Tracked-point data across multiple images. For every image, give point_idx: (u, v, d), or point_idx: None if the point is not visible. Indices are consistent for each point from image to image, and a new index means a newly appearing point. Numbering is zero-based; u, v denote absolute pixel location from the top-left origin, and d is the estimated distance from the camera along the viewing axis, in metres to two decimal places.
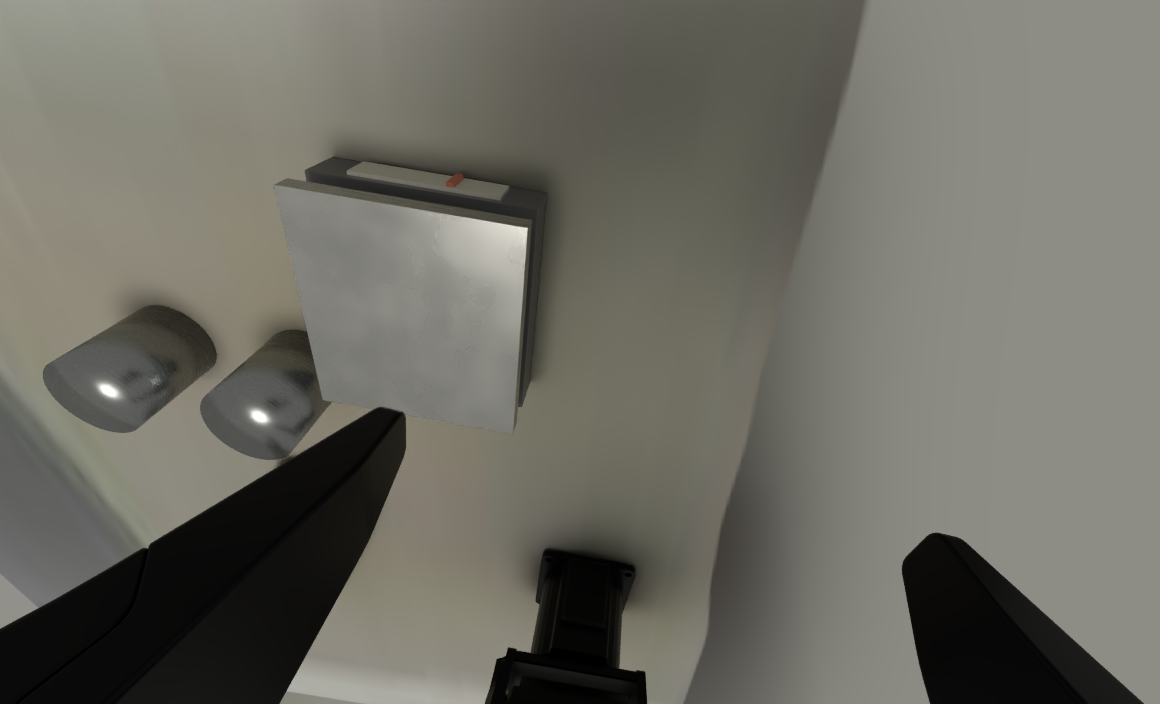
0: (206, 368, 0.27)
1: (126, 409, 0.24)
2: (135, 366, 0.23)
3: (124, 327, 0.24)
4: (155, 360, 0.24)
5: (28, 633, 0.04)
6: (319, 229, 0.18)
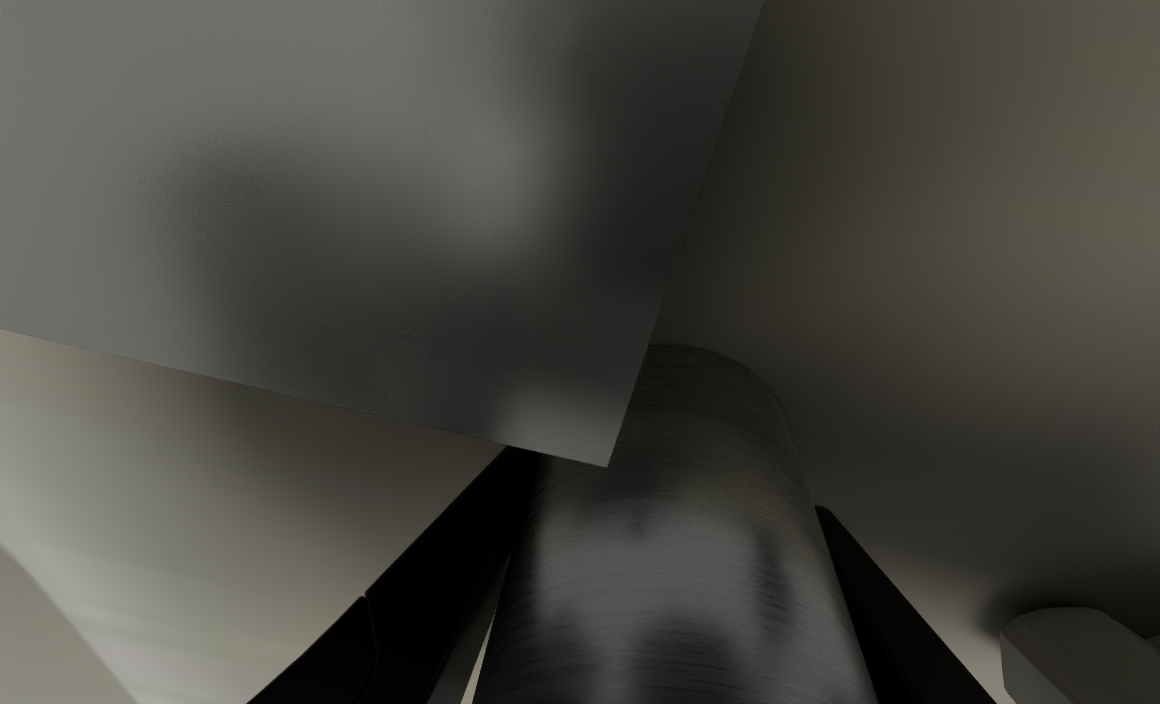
0: None
1: None
2: None
3: None
4: None
5: (294, 692, 0.04)
6: None
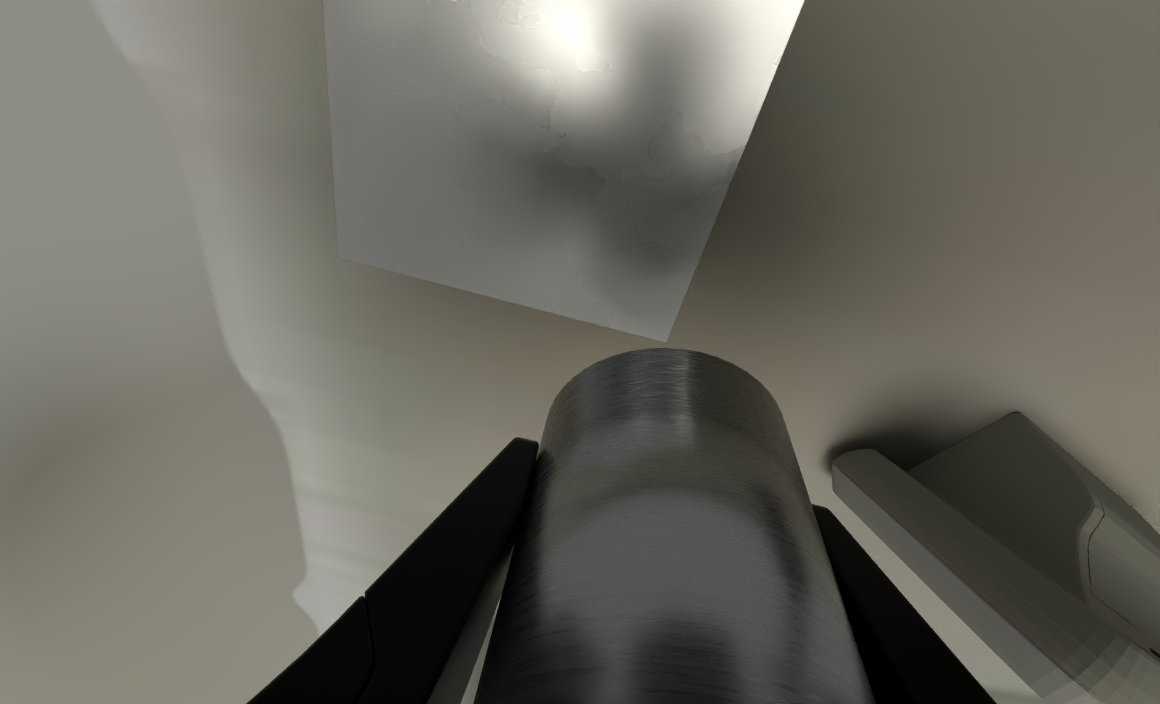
0: None
1: None
2: None
3: None
4: None
5: (294, 692, 0.04)
6: (384, 225, 0.14)
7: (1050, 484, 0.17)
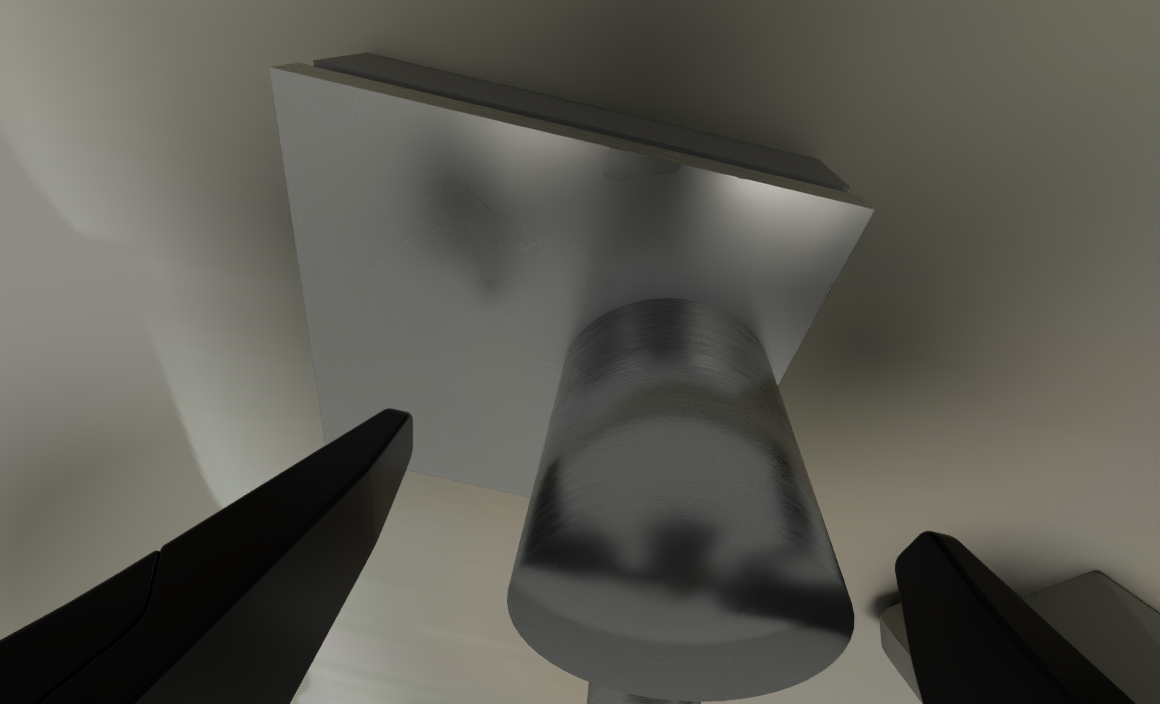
0: None
1: None
2: (616, 696, 0.18)
3: None
4: None
5: (42, 636, 0.04)
6: None
7: (1149, 680, 0.15)
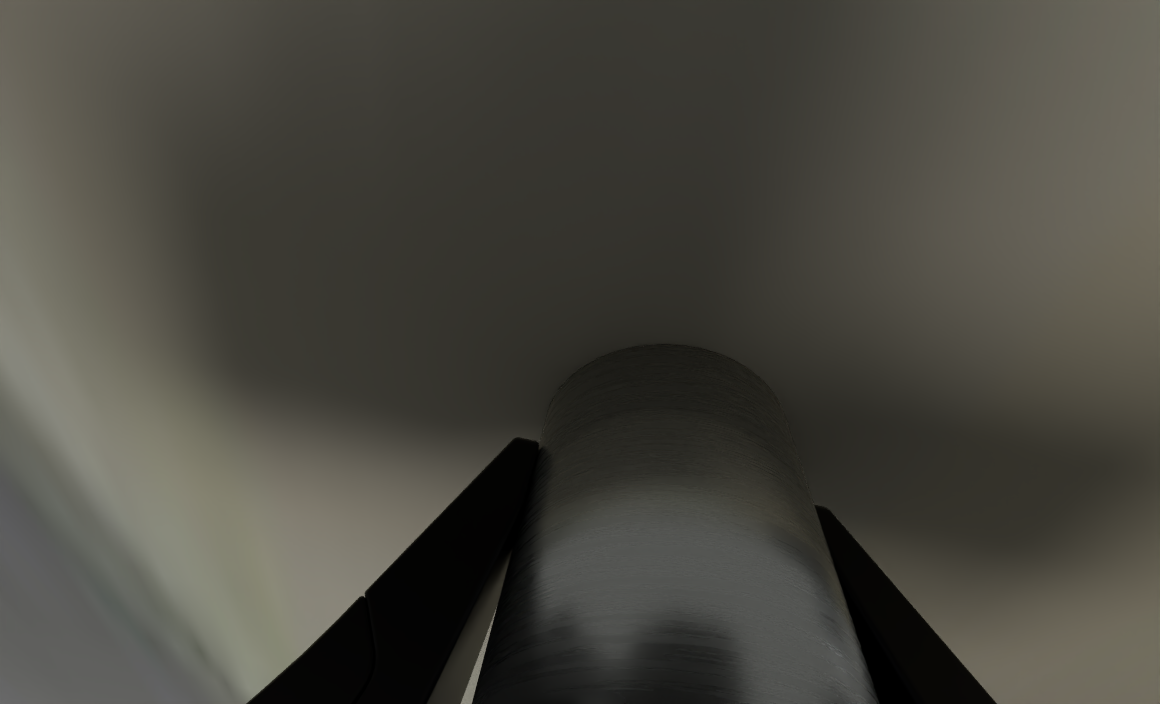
0: None
1: None
2: (859, 648, 0.05)
3: (709, 447, 0.06)
4: (840, 585, 0.06)
5: (294, 692, 0.04)
6: None
7: None
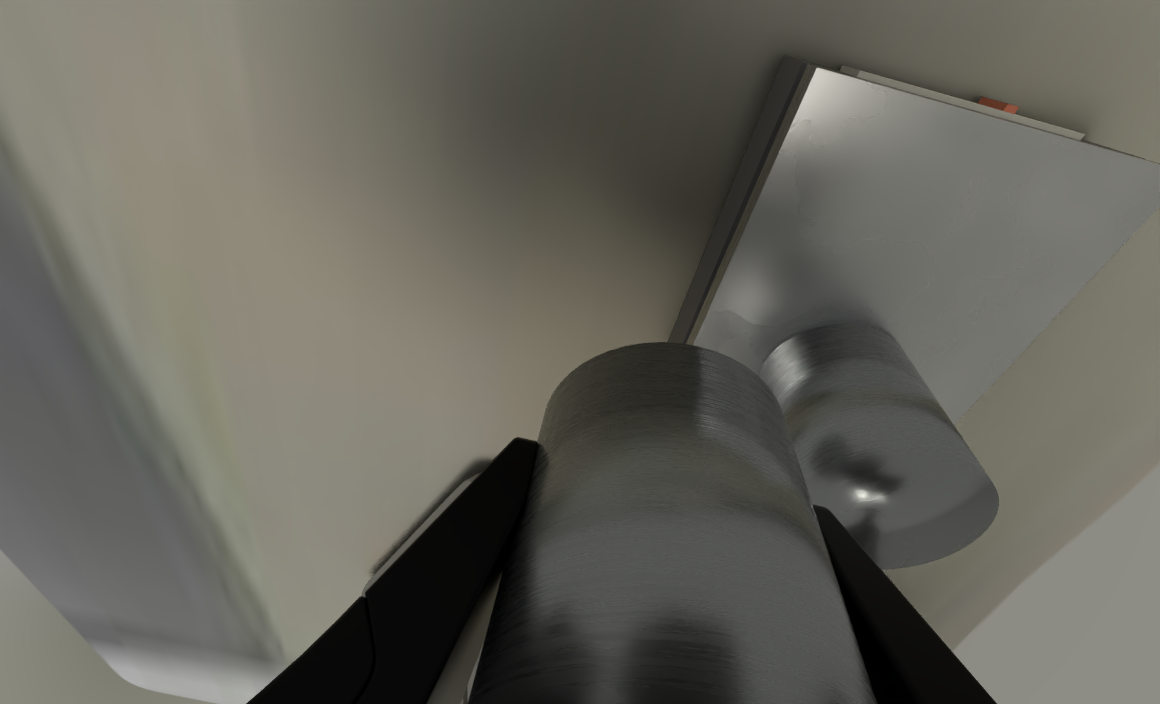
0: None
1: None
2: (856, 645, 0.05)
3: (706, 444, 0.06)
4: (837, 582, 0.06)
5: (294, 692, 0.04)
6: (843, 148, 0.12)
7: None
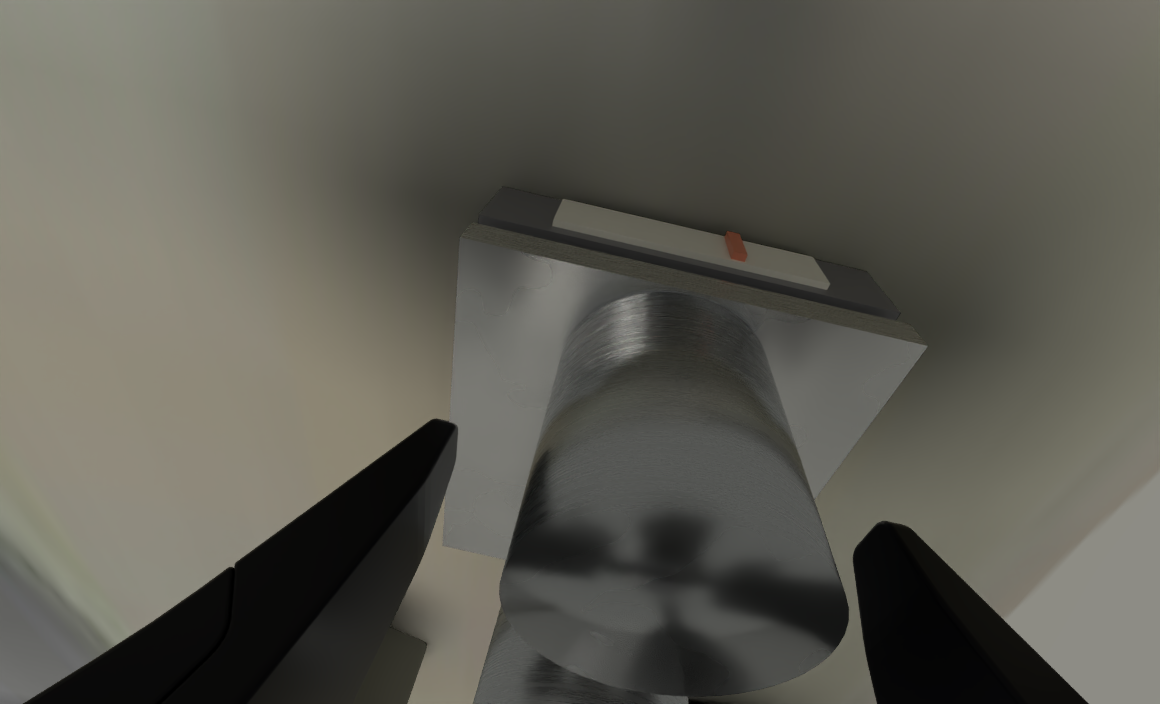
0: None
1: (762, 655, 0.07)
2: (816, 509, 0.07)
3: (697, 362, 0.08)
4: (805, 474, 0.07)
5: (133, 657, 0.04)
6: (523, 317, 0.10)
7: None
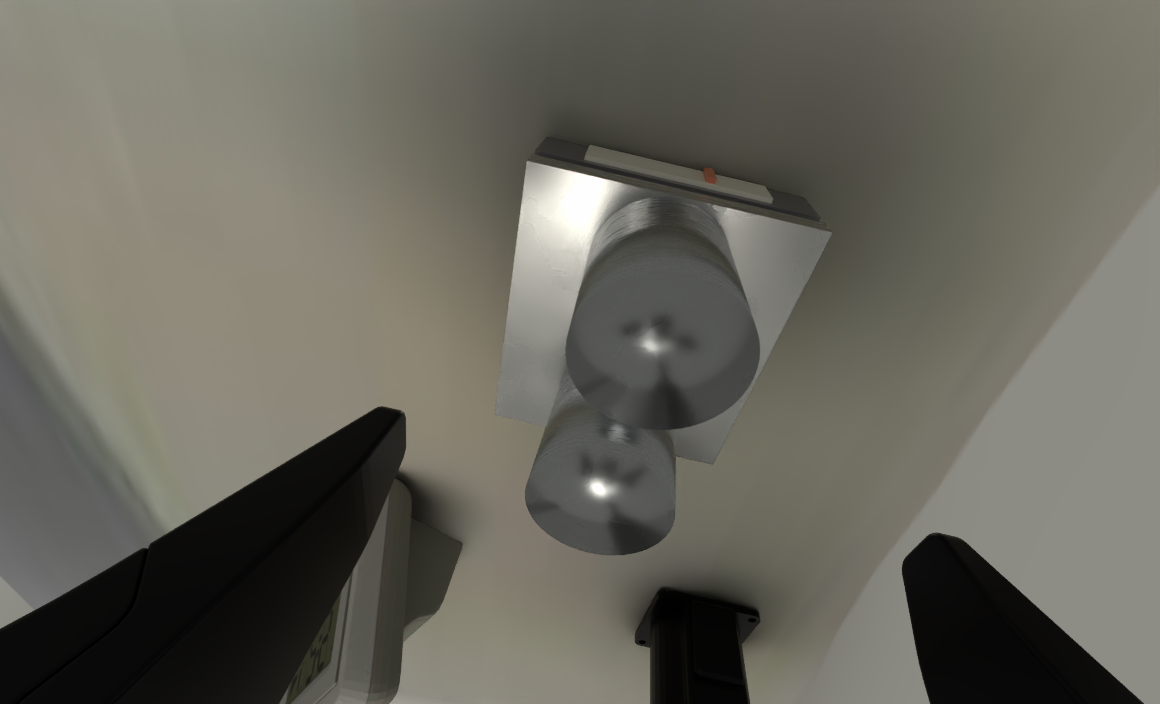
0: None
1: (716, 384, 0.12)
2: (745, 298, 0.12)
3: (680, 225, 0.12)
4: None
5: (28, 633, 0.04)
6: (565, 218, 0.15)
7: (433, 587, 0.28)
